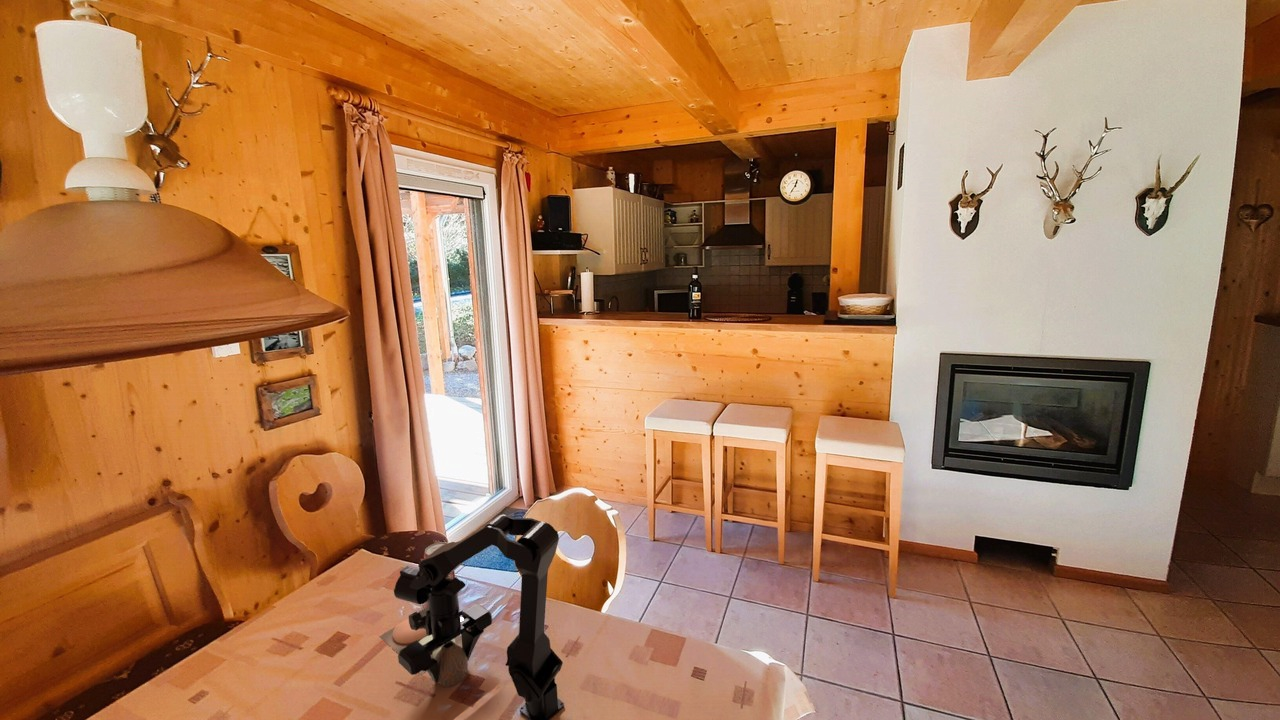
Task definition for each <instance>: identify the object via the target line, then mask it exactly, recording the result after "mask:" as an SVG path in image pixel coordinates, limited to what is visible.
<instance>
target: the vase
mask: <svg viewBox="0 0 1280 720" xmlns="http://www.w3.org/2000/svg"><path fill="white" fill-rule="evenodd" d="M435 660H436V661H437V662H438V682H437V683H438V684H439V685H440V686H442V687H453V686H456V685H457V684H459V683H460V682H462V681H463V680H464V678H465V677H466V674H467V672H468V663H469V660H467V656H466V653H465V651H464V650H463V649H462V648H461V647H460V646H458V645H456V644H455V643H454V641H450V642H448V643H447V644H445V645H444V646H442V648H441V649H440V651H439V652H438V653H437V655H436V657H435Z"/></svg>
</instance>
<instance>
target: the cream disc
mask: <svg viewBox="0 0 1280 720" xmlns="http://www.w3.org/2000/svg"><path fill="white" fill-rule="evenodd" d="M432 639H433V637H432V635H430V636H429V635H428V636H426V637H425V638H423V639H422V640H420V641H419V643H420V644H422V645H424V644H426V643H428V642H429V641H431V640H432ZM451 641H454V643H455V638H454V639H453V640H451ZM455 644H456V643H455ZM441 648H442V647H440V648H439V649H437V650H436V651H434V652H433V658H434V659H435V657H436V655H437V653H438V652H439V651H440V649H441Z"/></svg>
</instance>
